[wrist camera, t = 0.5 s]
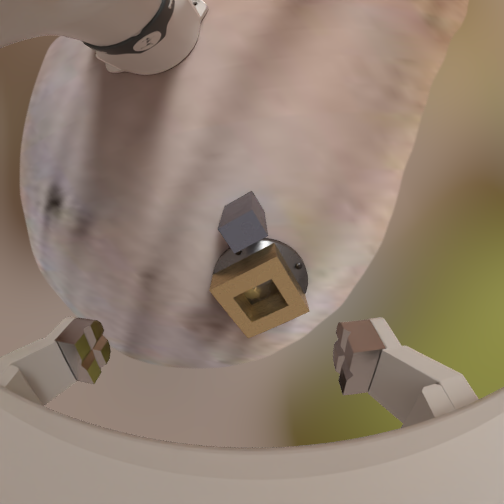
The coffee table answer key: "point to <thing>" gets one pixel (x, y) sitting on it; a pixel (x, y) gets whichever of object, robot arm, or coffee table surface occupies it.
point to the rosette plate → (261, 285)
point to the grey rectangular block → (243, 222)
